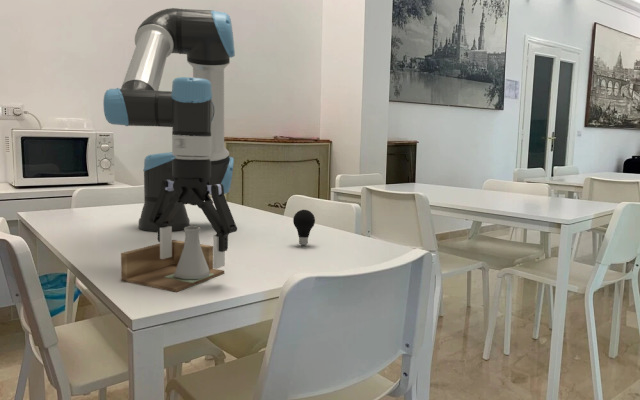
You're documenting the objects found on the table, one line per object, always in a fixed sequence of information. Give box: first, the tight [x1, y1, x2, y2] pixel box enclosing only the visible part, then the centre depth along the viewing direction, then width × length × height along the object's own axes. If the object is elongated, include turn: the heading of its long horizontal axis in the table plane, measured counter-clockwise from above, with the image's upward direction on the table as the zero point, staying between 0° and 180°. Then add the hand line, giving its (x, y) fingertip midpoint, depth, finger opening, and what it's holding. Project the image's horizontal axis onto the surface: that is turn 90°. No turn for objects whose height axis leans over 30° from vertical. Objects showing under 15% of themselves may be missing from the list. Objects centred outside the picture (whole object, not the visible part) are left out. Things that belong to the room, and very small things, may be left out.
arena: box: [120, 239, 225, 293], centre depth 104 cm, size 14×15×6 cm
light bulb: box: [292, 209, 316, 247], centre depth 136 cm, size 6×6×10 cm
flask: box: [174, 225, 210, 279], centre depth 102 cm, size 7×7×10 cm
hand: (191, 262), depth 102 cm, fingers open, 13 cm apart
